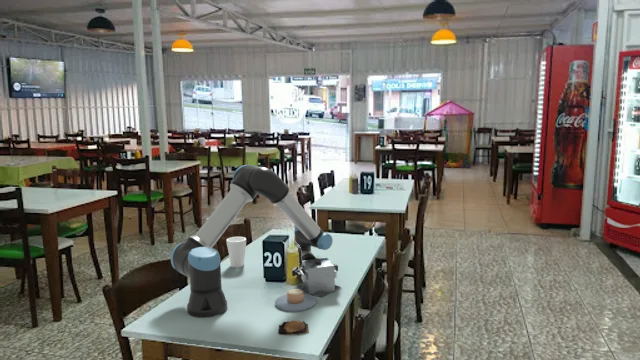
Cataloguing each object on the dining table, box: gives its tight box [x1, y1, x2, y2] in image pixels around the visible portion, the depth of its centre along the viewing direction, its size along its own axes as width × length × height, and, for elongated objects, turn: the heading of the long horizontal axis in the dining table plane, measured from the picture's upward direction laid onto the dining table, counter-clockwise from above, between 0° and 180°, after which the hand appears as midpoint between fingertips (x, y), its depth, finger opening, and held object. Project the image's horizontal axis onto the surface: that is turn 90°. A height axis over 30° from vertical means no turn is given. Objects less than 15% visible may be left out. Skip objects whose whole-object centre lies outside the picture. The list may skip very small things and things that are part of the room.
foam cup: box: [226, 236, 247, 268], centre depth 246 cm, size 10×9×13 cm
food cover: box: [302, 257, 336, 295], centre depth 213 cm, size 11×11×13 cm
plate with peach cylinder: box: [274, 288, 317, 313], centre depth 199 cm, size 16×16×5 cm
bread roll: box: [277, 320, 310, 336], centre depth 177 cm, size 11×8×4 cm
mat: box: [299, 285, 341, 298], centre depth 214 cm, size 13×13×1 cm
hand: (320, 276), depth 210 cm, fingers open, 13 cm apart
